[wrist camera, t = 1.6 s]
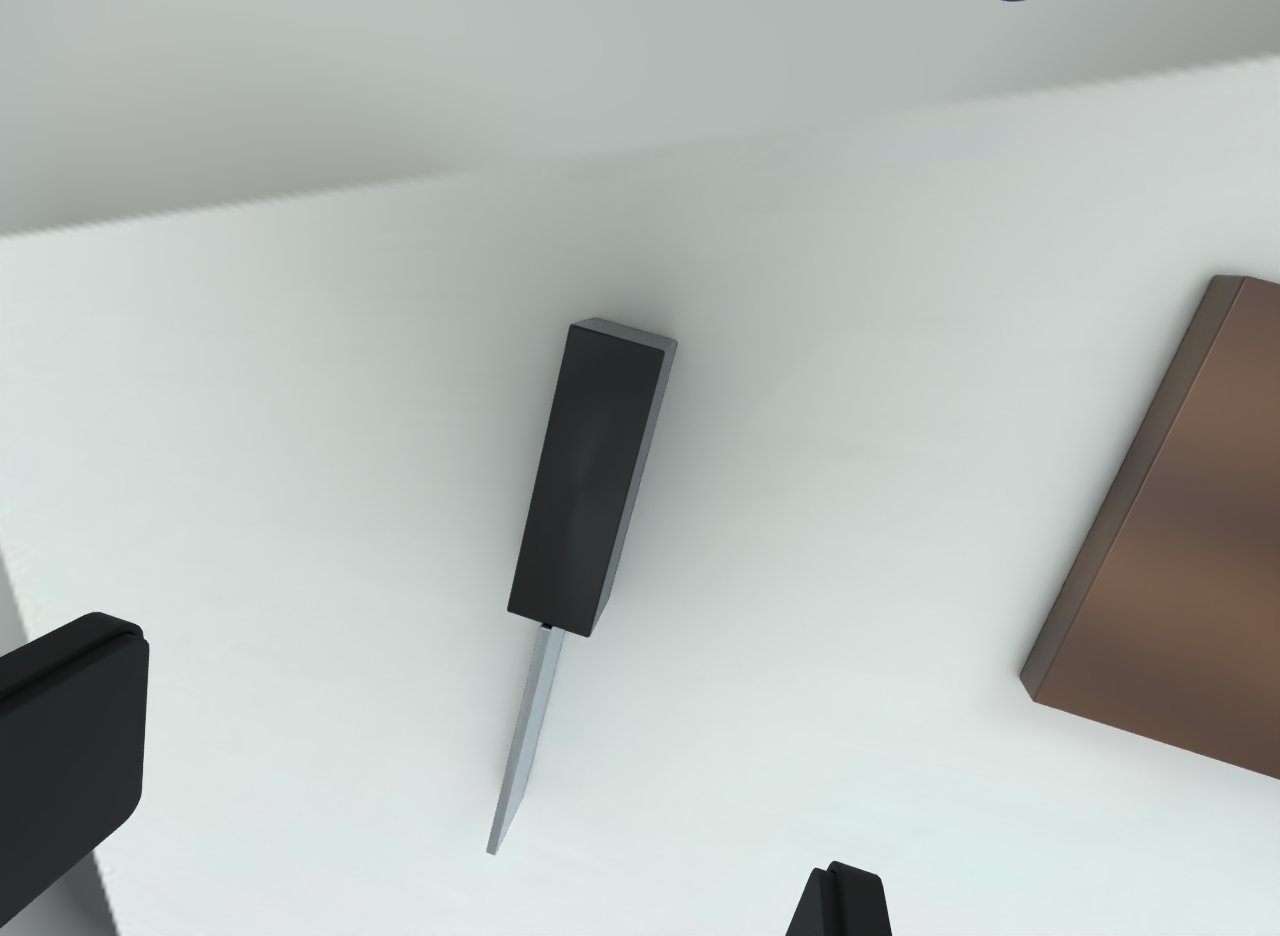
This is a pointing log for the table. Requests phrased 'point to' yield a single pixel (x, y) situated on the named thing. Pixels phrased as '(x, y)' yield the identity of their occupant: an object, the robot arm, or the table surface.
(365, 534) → the table surface
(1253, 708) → the board
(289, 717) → the table surface
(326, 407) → the table surface
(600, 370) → the knife
